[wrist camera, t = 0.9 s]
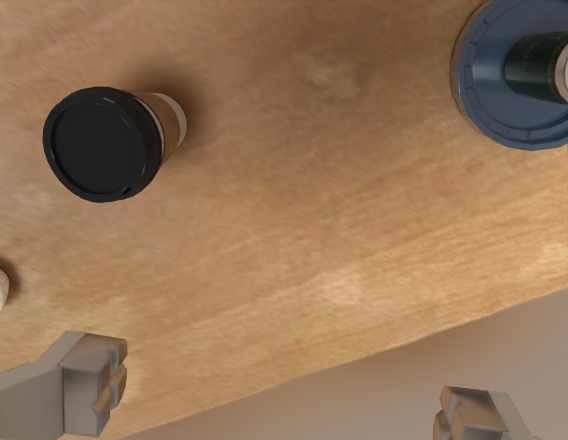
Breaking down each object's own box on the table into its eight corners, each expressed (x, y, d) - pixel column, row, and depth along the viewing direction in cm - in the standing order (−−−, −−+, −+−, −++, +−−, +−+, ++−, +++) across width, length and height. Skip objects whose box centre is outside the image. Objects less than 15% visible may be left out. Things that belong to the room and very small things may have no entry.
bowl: (444, -5, 45) (453, -9, 42) (617, -35, 43) (637, -42, 40) (454, 154, 49) (462, 160, 46) (611, 132, 47) (630, 137, 44)
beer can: (561, 95, 46) (640, 108, 35) (499, 98, 47) (557, 112, 35) (567, 31, 44) (652, 23, 33) (503, 35, 45) (565, 29, 34)
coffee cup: (154, 182, 52) (91, 230, 38) (97, 115, 50) (8, 138, 36) (217, 132, 50) (176, 162, 36) (160, 60, 48) (92, 61, 34)
